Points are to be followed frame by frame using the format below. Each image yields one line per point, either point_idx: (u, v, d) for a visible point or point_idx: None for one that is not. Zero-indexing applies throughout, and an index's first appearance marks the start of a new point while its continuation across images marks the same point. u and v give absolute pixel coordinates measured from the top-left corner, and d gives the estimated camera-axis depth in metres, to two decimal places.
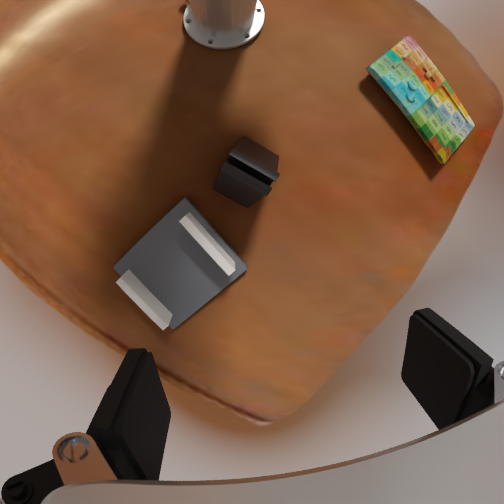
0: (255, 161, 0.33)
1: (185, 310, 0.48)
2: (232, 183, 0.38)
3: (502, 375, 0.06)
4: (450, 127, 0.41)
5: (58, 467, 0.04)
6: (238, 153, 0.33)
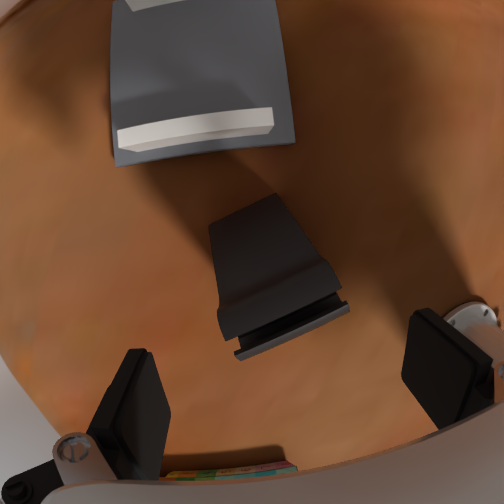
0: (296, 336, 0.15)
1: (123, 32, 0.19)
2: (273, 246, 0.19)
3: (502, 375, 0.06)
4: None
5: (58, 467, 0.04)
6: (333, 319, 0.15)
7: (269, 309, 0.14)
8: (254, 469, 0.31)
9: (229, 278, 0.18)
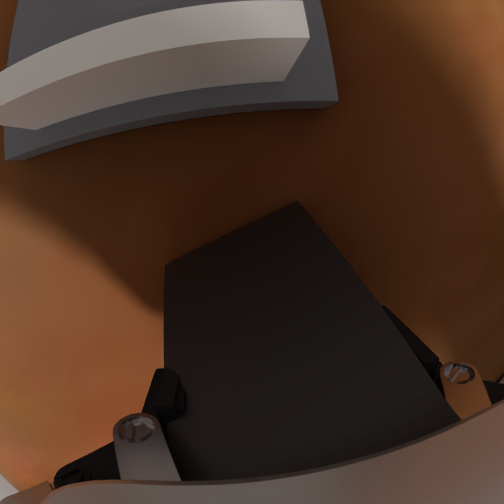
0: None
1: None
2: (310, 354, 0.07)
3: (449, 377, 0.06)
4: None
5: (122, 448, 0.05)
6: None
7: None
8: None
9: (197, 437, 0.06)
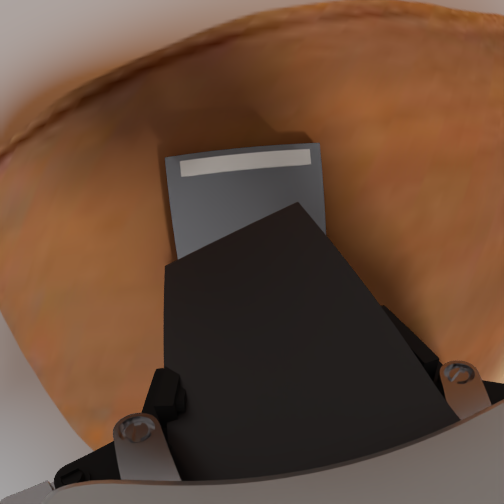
0: None
1: (182, 200, 0.27)
2: (310, 355, 0.07)
3: (449, 377, 0.06)
4: None
5: (122, 448, 0.05)
6: None
7: None
8: None
9: (197, 439, 0.06)
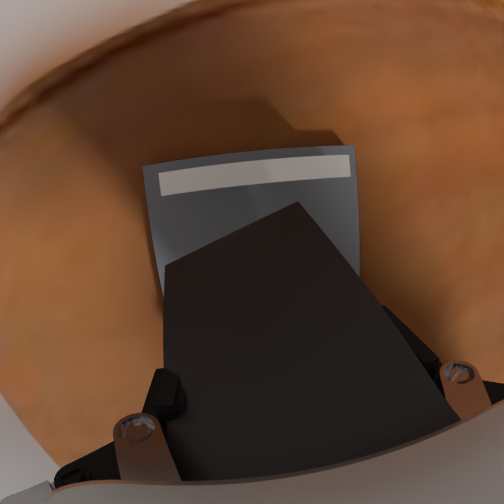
0: None
1: (167, 225, 0.20)
2: (310, 355, 0.07)
3: (449, 377, 0.06)
4: None
5: (123, 448, 0.05)
6: None
7: None
8: None
9: (196, 439, 0.06)
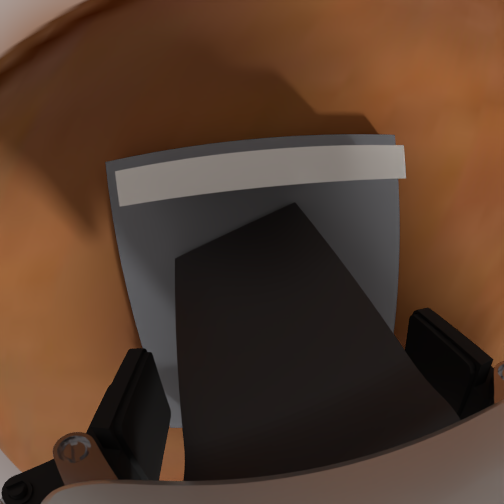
0: None
1: (140, 243, 0.14)
2: (303, 330, 0.08)
3: (502, 375, 0.06)
4: None
5: (58, 467, 0.04)
6: None
7: None
8: None
9: (206, 403, 0.07)
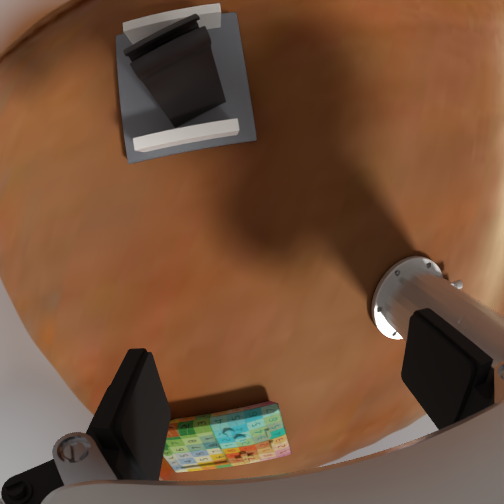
0: (173, 53, 0.18)
1: (126, 61, 0.27)
2: None
3: (502, 375, 0.06)
4: (182, 452, 0.40)
5: (58, 467, 0.04)
6: (197, 38, 0.18)
7: (153, 34, 0.17)
8: (243, 409, 0.41)
9: None
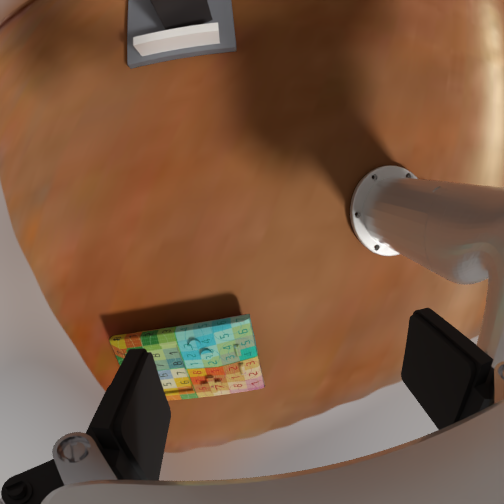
0: None
1: None
2: None
3: (502, 375, 0.06)
4: None
5: (58, 467, 0.04)
6: None
7: None
8: (212, 320, 0.41)
9: None
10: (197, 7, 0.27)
